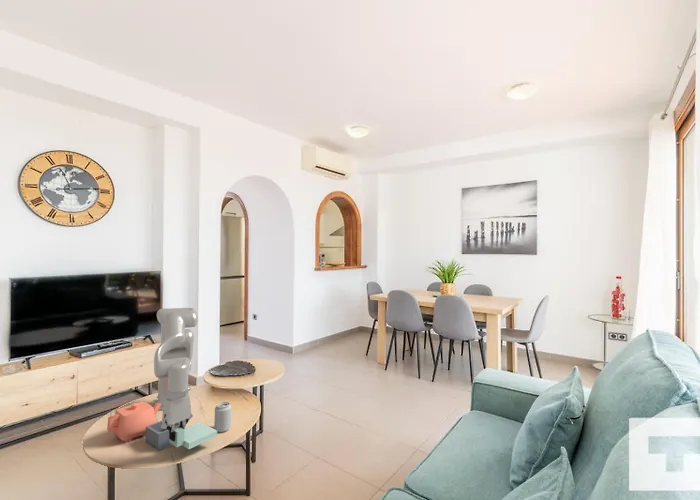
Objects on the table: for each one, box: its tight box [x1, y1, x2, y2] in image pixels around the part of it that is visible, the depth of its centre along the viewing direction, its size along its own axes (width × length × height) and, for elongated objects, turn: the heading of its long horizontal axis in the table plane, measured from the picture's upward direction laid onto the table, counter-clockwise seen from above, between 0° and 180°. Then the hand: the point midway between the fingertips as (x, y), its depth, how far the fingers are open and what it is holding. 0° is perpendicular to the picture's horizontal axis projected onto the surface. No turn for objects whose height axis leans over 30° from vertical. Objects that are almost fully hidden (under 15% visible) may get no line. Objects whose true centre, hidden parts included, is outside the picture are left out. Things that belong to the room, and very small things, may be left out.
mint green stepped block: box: [169, 422, 218, 450], centre depth 152 cm, size 13×16×7 cm
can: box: [213, 401, 232, 433], centre depth 170 cm, size 8×8×12 cm
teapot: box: [106, 401, 161, 443], centre depth 163 cm, size 22×13×14 cm, turn 141°
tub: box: [145, 420, 180, 452], centre depth 158 cm, size 11×11×7 cm
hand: (176, 438), depth 147 cm, fingers closed on mint green stepped block, 3 cm apart
